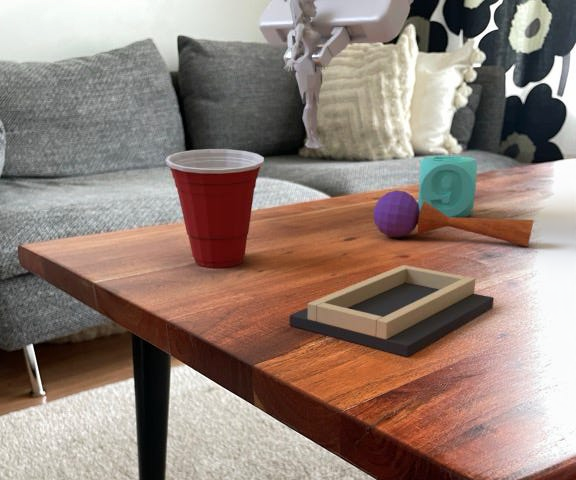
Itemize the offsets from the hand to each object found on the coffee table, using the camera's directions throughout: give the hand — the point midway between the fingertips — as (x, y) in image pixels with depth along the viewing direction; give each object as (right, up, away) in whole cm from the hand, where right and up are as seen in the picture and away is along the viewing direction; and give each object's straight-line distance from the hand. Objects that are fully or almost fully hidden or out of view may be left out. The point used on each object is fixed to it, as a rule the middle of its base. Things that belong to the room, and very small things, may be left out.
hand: (304, 63), depth 89 cm
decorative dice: (+22, -14, +20) cm, 33 cm away
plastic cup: (-10, -26, -5) cm, 28 cm away
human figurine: (+1, -9, +5) cm, 10 cm away
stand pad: (+8, -34, -23) cm, 42 cm away
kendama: (+19, -21, +4) cm, 29 cm away
